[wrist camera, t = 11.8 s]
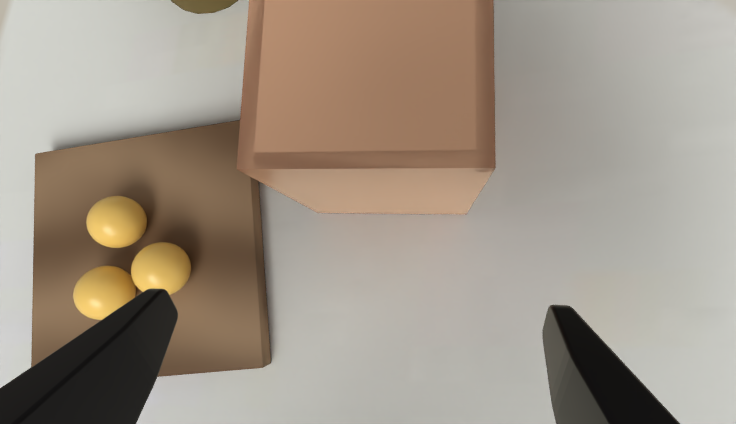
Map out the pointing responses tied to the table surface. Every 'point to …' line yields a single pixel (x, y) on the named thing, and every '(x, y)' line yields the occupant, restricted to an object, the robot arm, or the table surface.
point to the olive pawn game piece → (203, 5)
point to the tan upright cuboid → (370, 103)
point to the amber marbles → (149, 268)
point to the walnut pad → (164, 224)
